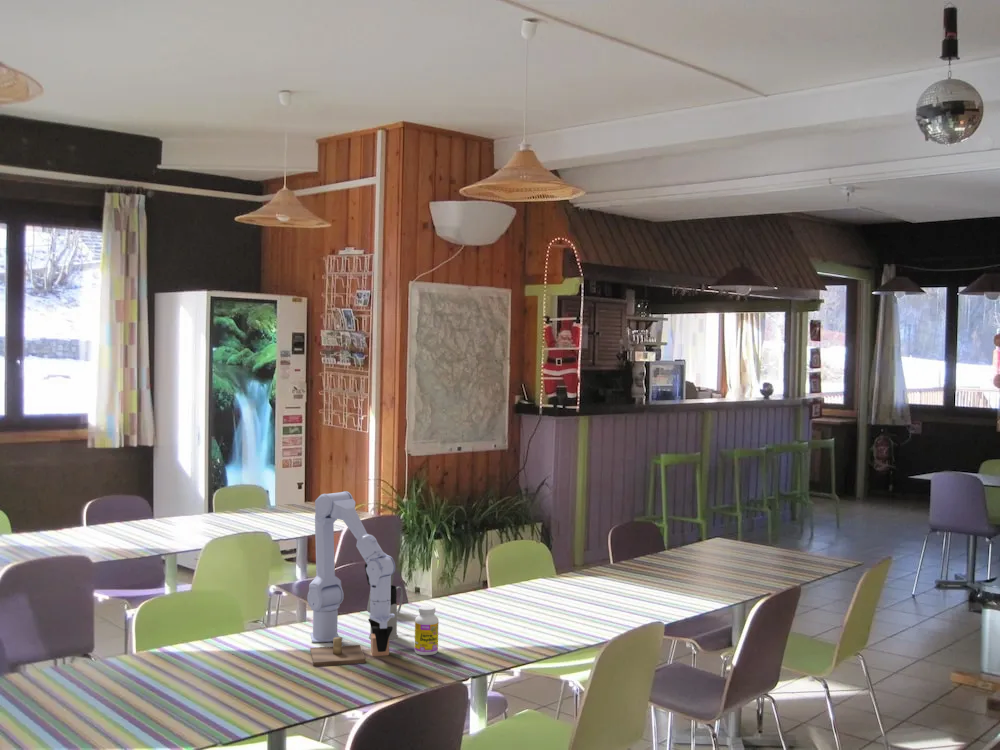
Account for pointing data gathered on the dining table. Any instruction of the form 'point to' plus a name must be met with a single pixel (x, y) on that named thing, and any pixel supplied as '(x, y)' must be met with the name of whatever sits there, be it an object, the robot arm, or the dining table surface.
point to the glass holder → (394, 611)
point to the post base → (337, 654)
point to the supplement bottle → (426, 631)
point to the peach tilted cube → (374, 647)
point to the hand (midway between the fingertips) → (380, 647)
